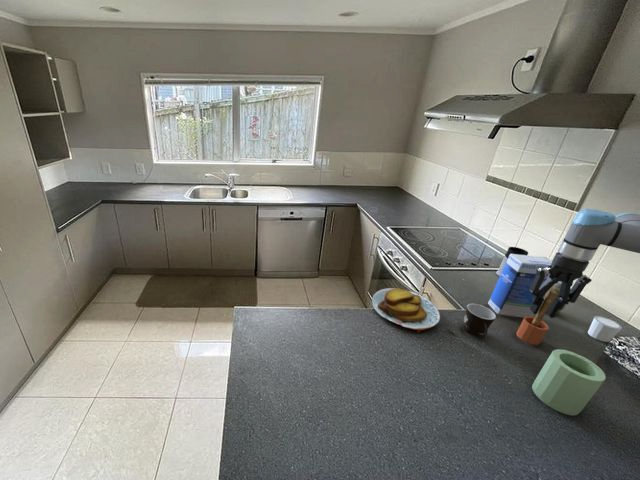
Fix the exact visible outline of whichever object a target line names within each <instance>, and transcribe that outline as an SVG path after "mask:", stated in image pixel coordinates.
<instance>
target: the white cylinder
mask: <svg viewBox="0 0 640 480" xmlns="http://www.w3.org/2000/svg"><path fill="white" fill-rule="evenodd" d="M622 329H623V326H621V324H619V323H618V322H617V321H614V320H612V319H610V318H608V317H605V316H601V315H596V316H595V315H594V317H593V320H592V322H591V324H590V326H589V328H588V330H587V334H588V336H590V337H592V338H593V339H595V340H597V341H601V342H603V343H609V342H611V341H612V339H614V338H615V336H616V335H617V334H618V333H620V332H621V330H622Z"/></svg>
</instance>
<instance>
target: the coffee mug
mask: <svg viewBox="0 0 640 480" xmlns="http://www.w3.org/2000/svg"><path fill="white" fill-rule="evenodd" d="M496 318H497V316H496V314H495V311H494V310H493V311H492V309H490V308H488V307H486V306H484V305H481V304H477V303H468V304H467V305H466V309H465V313H464V318H463V322H462V327H461V328H462V330H463V331H464V332H465V333H467V334H468V335H470V336H473V337H475V338H481V337H483V336H485V335H487V334H488V330H489V328H490V326H491V325H492V323H493V322H494V321H495V319H496Z"/></svg>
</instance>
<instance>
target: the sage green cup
mask: <svg viewBox="0 0 640 480" xmlns="http://www.w3.org/2000/svg"><path fill="white" fill-rule="evenodd" d="M606 377H607V375H606V374H605V372H604V371H603V369H601V367H599V366H598V365H597V364H596V363H595V362H593V361H592V360H590V359H588V358H586V357H584V356H583V355H580V354H578V353H575V352H574V351H571V350H570V351H569V350H567V349H559V348H558V349H554V350H552V351H551V353H550V355H549V357H548V358H547V360H546V361H545V362H544V365H543V366H542V368H541V369H540V371H539V373H538V374H537V376H536V378H535V379H534V381H533V383H532V385H531V389H532V391H533V393H534V394H535V396H536V397H537V398H538V399H539V400H540V401H541V402H542V403H543V404H545V405H547V406H548V407H549V408H551V409H552V410H555V411H556V412H558V413H561V414H564V415H567V416H578V415H579V414H580V413H581V412H582V411H583V410H584V409H585V407H586V406H587V405H588V403H589V402H590V401H591V399H592V398H593V397H594V396H595V394H596V393H597V392H598V390H599V389H600V387H601V386H602V385H603V384H604V382H605V381H606Z"/></svg>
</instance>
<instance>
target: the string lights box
mask: <svg viewBox="0 0 640 480" xmlns="http://www.w3.org/2000/svg"><path fill="white" fill-rule="evenodd" d="M551 264H552V260H551V259H550V258H549V257H547V256H538V255H529V254H528V255H518V254H510V255H509V258H508V260H507V262H506V264H505V267H504V269H503V271H502V273H501V276H499V278H498V279H497V282H496V284H495V286H494V288H493V292H492V293H491V295H490V298H489V300H488V302H487V304H488V305H489V307H490V308H491V310H493V312H494V313H496V314H497V315H500V316H507V317H513V318H514V317H516V318H523V319H524V317H527V316H528V317H533V318H535V316H536V314H533V312H532V311H531V310H530V308H531V306H532V304H533V303H532V302H531V300H532V299H533V296H534V295H533V294H532V293H531V292H530V291H529V289H530V286H531V284H532V282H533V280H534V278H535V276H536V273H537V272H536V268H537V267H540V268H548V266H550V265H551ZM548 275H549V272H547V275H545V278H544V280H543V282H544V281H545V280H546V279H547V276H548ZM543 282H542V283H543ZM544 296H545V295H544ZM544 296H543V298H544Z"/></svg>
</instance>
